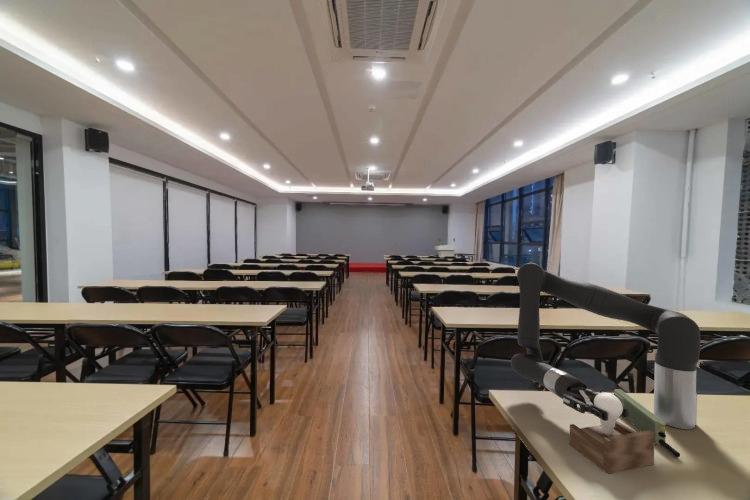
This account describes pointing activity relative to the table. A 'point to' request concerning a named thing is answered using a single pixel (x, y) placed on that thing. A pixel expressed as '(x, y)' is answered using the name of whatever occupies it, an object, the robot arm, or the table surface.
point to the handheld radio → (644, 420)
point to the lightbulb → (608, 410)
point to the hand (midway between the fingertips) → (617, 415)
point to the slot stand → (614, 447)
